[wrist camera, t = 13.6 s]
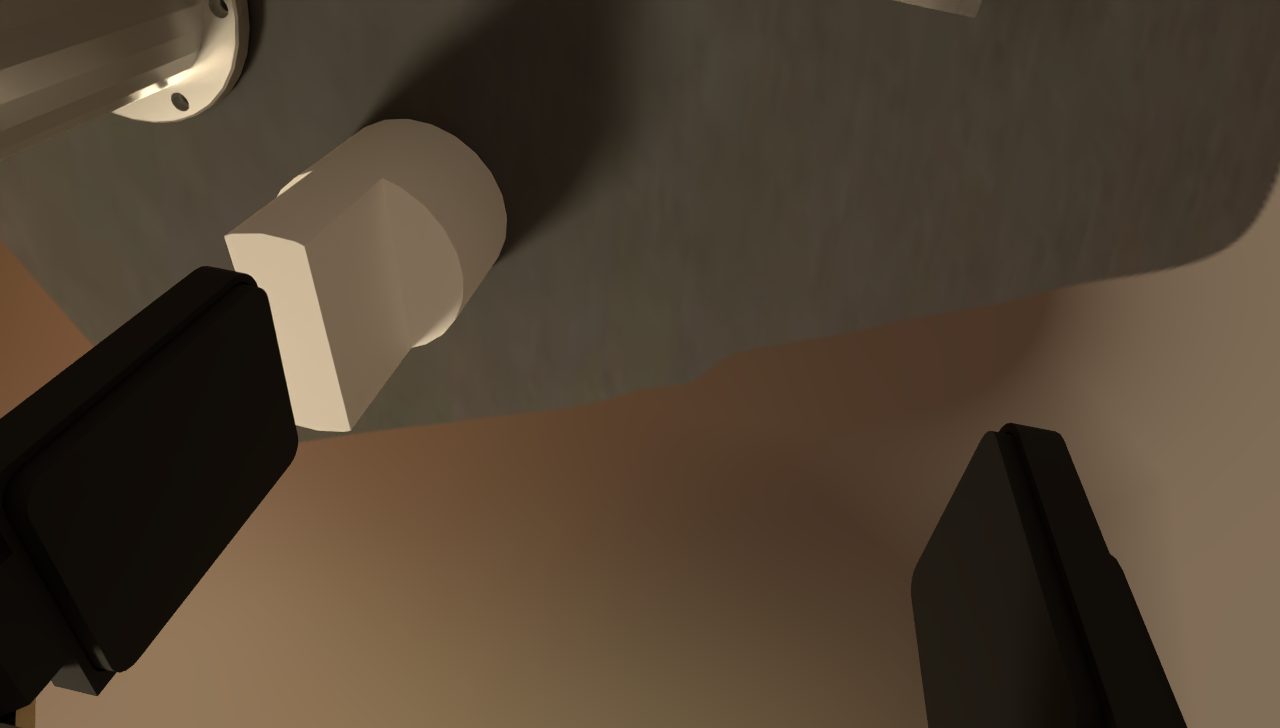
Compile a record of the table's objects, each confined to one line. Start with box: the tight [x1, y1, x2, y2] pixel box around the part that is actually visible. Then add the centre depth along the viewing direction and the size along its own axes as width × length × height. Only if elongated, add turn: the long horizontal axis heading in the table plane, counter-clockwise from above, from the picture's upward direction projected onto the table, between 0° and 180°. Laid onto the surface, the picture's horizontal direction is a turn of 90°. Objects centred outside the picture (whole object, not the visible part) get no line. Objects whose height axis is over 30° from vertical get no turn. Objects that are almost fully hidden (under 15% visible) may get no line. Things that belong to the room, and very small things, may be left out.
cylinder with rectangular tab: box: [224, 119, 507, 432], centre depth 34 cm, size 9×9×12 cm
